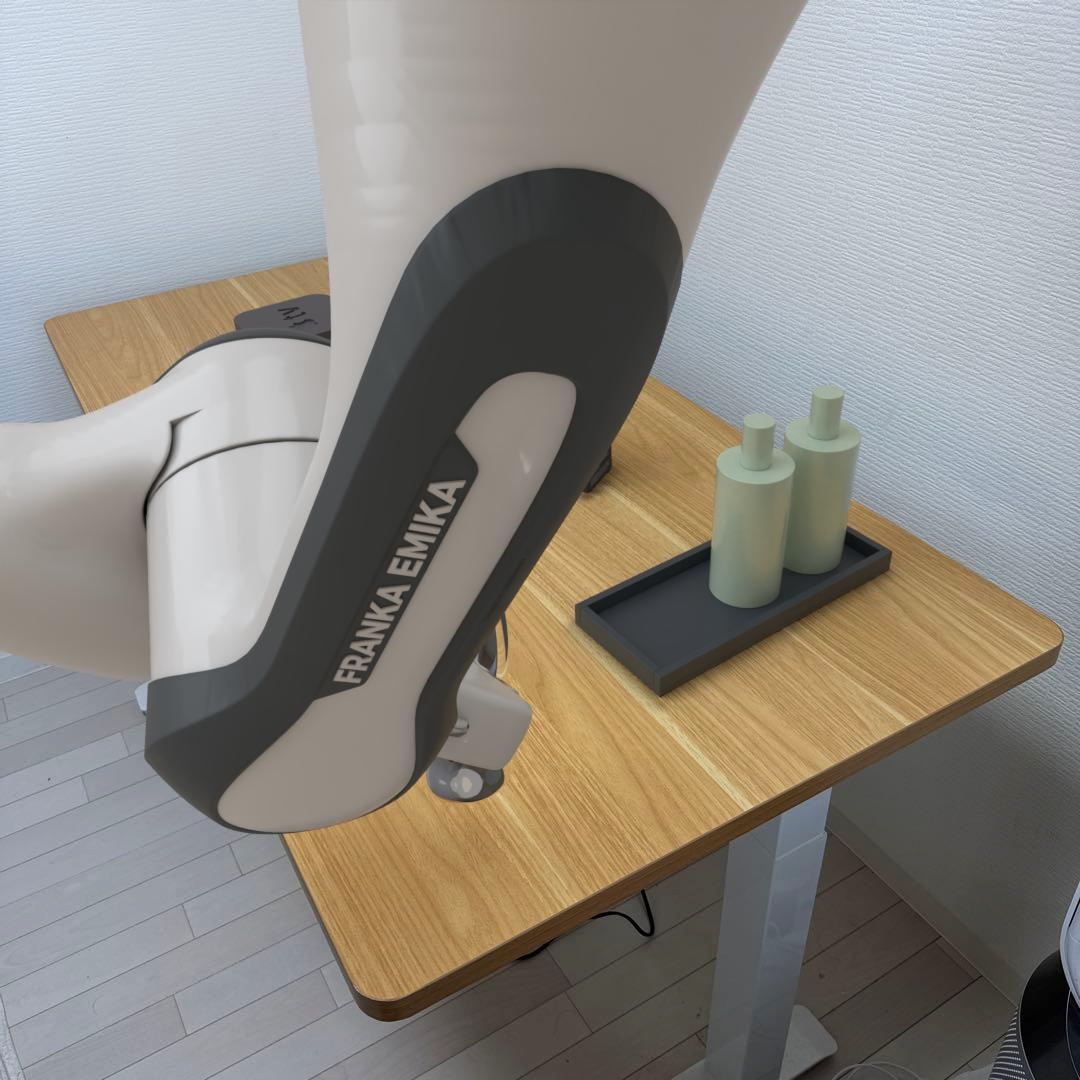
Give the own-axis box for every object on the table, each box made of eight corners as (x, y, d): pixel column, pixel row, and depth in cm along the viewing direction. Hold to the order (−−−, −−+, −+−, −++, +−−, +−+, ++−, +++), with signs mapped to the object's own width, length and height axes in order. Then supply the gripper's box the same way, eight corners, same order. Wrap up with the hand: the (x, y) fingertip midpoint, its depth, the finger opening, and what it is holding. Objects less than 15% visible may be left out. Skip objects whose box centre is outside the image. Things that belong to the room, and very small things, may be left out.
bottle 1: (795, 590, 86) (817, 423, 77) (743, 618, 84) (759, 448, 74) (745, 556, 91) (759, 394, 81) (694, 582, 88) (702, 417, 78)
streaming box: (370, 355, 134) (364, 320, 131) (272, 385, 128) (263, 349, 125) (329, 323, 144) (323, 290, 141) (236, 350, 138) (227, 316, 135)
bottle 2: (856, 557, 90) (884, 393, 80) (808, 583, 87) (831, 416, 77) (805, 526, 94) (826, 368, 85) (757, 550, 92) (773, 389, 82)
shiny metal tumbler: (398, 802, 60) (359, 617, 51) (432, 722, 65) (402, 542, 57) (506, 818, 59) (484, 630, 50) (531, 734, 64) (516, 552, 55)
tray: (889, 569, 89) (893, 551, 88) (659, 697, 77) (660, 678, 76) (796, 514, 97) (798, 497, 96) (575, 622, 85) (574, 604, 84)
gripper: (447, 658, 40) (612, 706, 51) (217, 485, 53) (388, 552, 64) (376, 790, 40) (555, 809, 51) (163, 585, 53) (343, 636, 64)
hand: (460, 665), depth 58 cm, fingers closed on shiny metal tumbler, 7 cm apart
